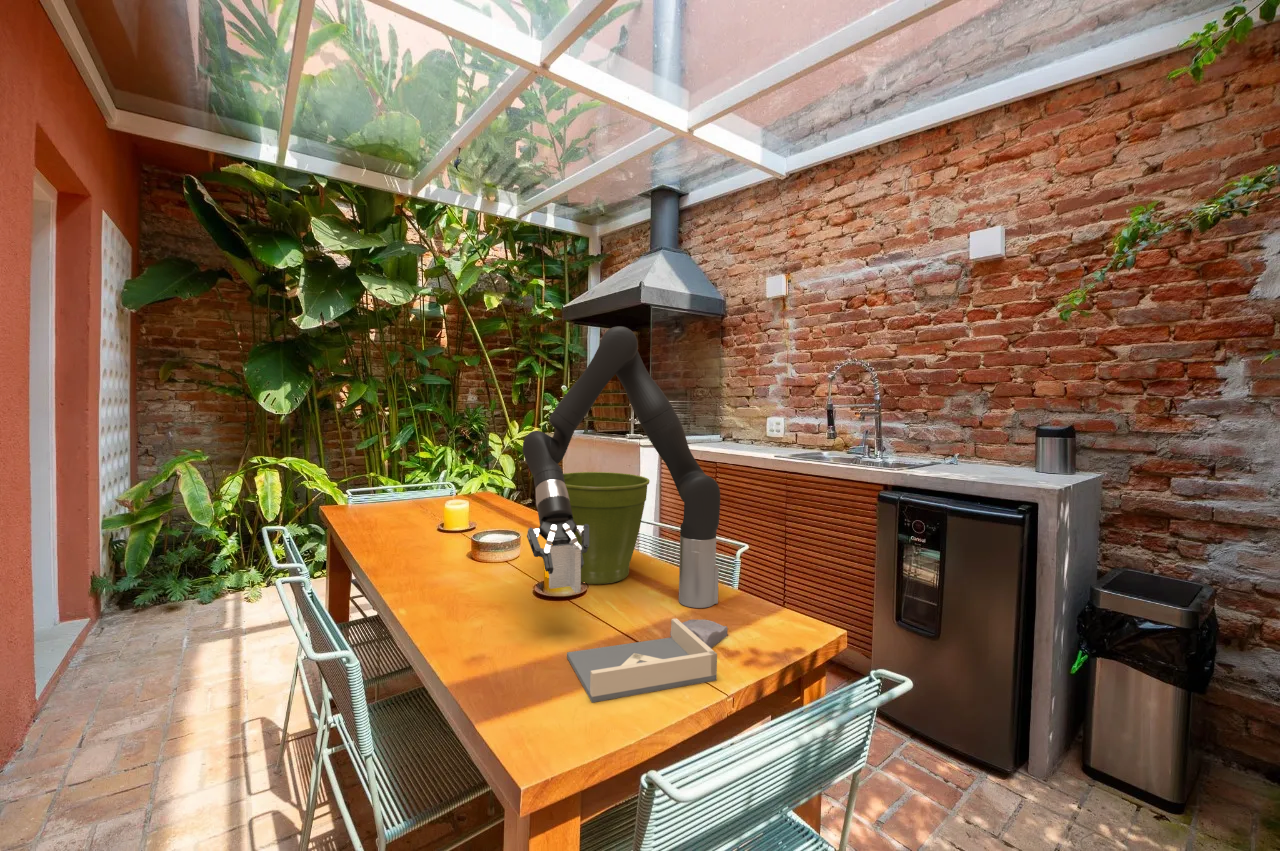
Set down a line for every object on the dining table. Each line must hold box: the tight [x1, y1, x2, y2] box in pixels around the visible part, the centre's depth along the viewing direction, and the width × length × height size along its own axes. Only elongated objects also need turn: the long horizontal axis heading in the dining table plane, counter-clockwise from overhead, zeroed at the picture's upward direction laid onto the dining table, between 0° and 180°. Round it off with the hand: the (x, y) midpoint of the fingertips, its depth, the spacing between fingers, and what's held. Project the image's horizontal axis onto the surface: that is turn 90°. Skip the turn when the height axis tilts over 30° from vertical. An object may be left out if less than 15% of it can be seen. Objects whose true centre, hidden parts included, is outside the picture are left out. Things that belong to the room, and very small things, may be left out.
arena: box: [566, 618, 718, 703], centre depth 110 cm, size 24×18×5 cm
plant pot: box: [558, 471, 651, 585], centre depth 166 cm, size 30×30×29 cm
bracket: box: [548, 543, 582, 594], centre depth 120 cm, size 6×6×9 cm
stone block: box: [669, 618, 729, 649], centre depth 124 cm, size 12×5×10 cm
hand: (565, 570), depth 119 cm, fingers closed on bracket, 5 cm apart
